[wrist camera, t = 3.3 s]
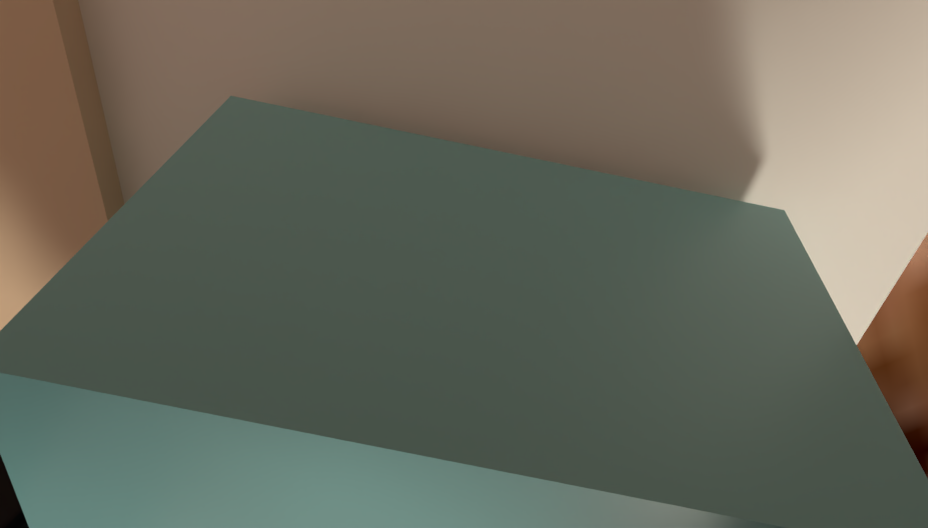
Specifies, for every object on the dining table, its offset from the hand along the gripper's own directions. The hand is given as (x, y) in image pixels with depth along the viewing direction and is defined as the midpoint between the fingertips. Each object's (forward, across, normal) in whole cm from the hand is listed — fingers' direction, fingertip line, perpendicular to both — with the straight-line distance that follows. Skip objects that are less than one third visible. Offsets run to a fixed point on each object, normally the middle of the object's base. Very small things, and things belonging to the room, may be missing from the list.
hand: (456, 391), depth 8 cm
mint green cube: (+1, 0, 0) cm, 1 cm away
